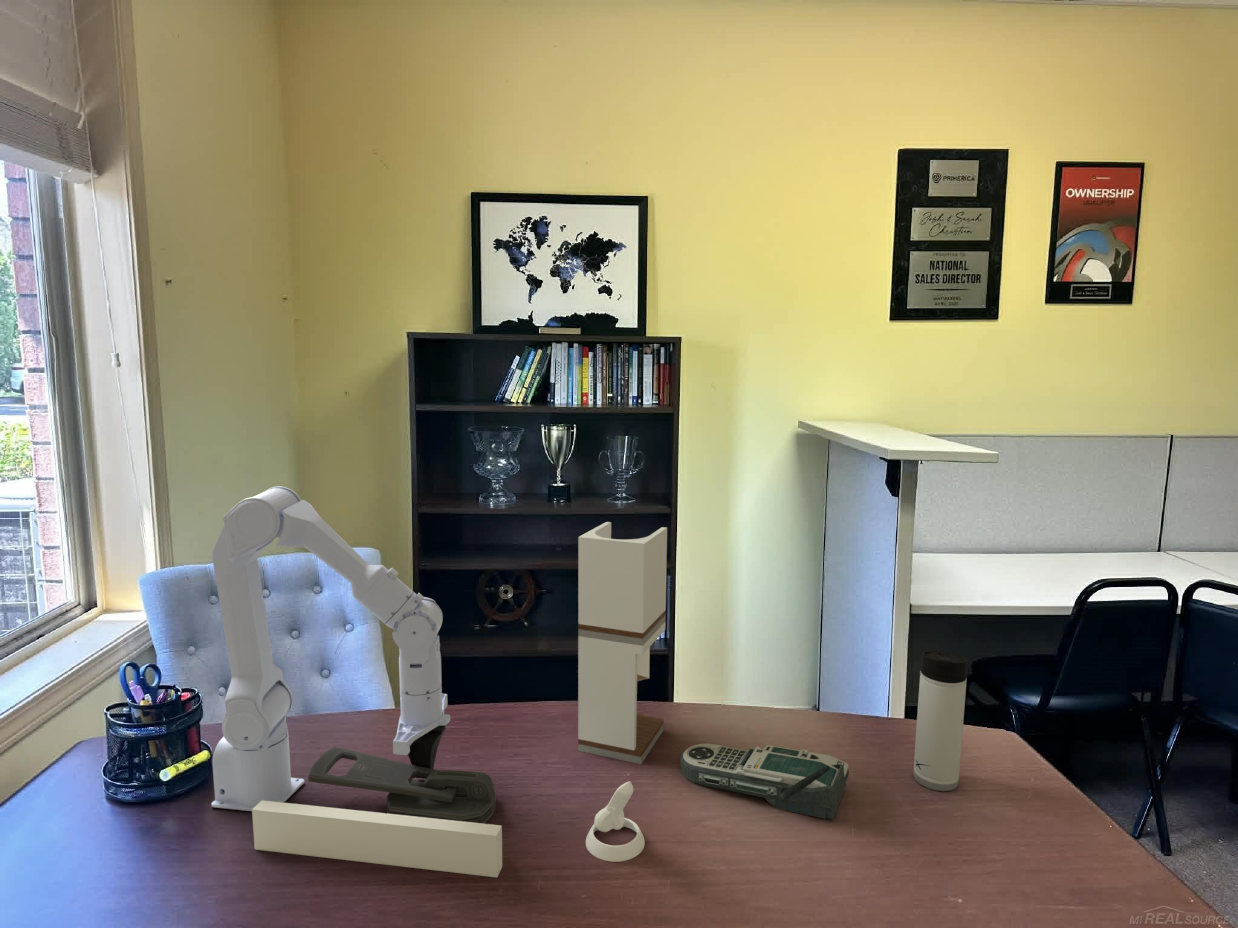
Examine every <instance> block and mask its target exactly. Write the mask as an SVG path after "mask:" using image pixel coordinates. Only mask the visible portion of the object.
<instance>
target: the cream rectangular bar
mask: <svg viewBox="0 0 1238 928" xmlns="http://www.w3.org/2000/svg"><path fill="white" fill-rule="evenodd" d="M251 815H252V816H251V817H252V828H253V829H252V830H253V832H252V833H253V843H254V845H253V846H254V850H256V851H264V852H275V853H281V854H291V855H300V856H309V857H317V858H325V859H326V858H327V859H335V860H343V861H344V860H345V861H351V862H360V863H368V864H378V865H386V866H395V867H401V868H402V867H403V868H413V869H418V870H419V869H420V870H421V869H422V870H428V871H429V870H430V871H437V872H438V871H440V872H447V873H448V872H449V873H455V874H463V875H464V874H465V875H473V876H481V877H489V878H498V877H499V875H500V873H501V870H502V868H503V826H502V825H499V824H493V823H492V824H491V823H490V824H489V823H485V824H482V823H473V822H463V821H454V820H444V819H435V818H425V817H416V816H406V815H397V814H388V813H385V812H376V811H375V812H374V811H367V810H357V809H348V808H347V809H346V808H338V807H328V806H320V805H319V806H318V805H310V804H299V803H291V802H290V803H289V802H284V803H282V802H273V801H263V800H262V801H261V802H259V803H258V804H257V805H256V806H255V807H254V808H253V809H252V811H251Z"/></svg>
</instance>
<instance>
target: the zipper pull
mask: <svg viewBox="0 0 1238 928" xmlns="http://www.w3.org/2000/svg"><path fill="white" fill-rule="evenodd" d="M341 759H344V760H351V761H355V762H354V763H353V764H352V766H351V767H350V768H349V769H348V771H347V772H346V774H344V775H339V776H338V775H333V774H329V771H330V770H331V769H333V767H334V766H335V764H336V763H337V762H339V761H340V760H341ZM418 776H420V777H425V778H427V779H424V778H422V779H415V778H416V777H418ZM307 781H308V782H310V783H317V784H323V785H324V784H325V785H330V786H331V785H332V786H339V787H340V786H341V787H346V788H347V787H348V788H353V789H354V788H355V789H361V790H368V791H369V790H370V791H377V792H383V793H384V792H385V793H388V794H387V796H386V812H387V814H397V815H406V816H416V817H425V818H435V819H444V820H454V821H463V822H473V823H482V824H487V823H488V821H489V820H491V818H492V817H493V815H494V812H495V810H496V808H497V805H496V804H497V802H496V798H497V796H496V791H495V784H494V782H493V780H492V777H491V776H490V775H489V774H487V773H485V772H481V771H467V770H454V769H450V770H449V769H447V770H446V769H434V768H433V769H429V768H424V767H419V766H414V765H411V763H410V764H409V763H404V762H400V761H397V760H391V759H388V758H385V757H380V756H376V755H370V754H367V753H363V752H358V751H354V750H351V749H346V748H341V747H336V746H334V747H332V748H330V749H328V750H327V751H325V752H324V753H323V754H322V755H321V756H320V757H319V758H317V760H316V761H315V762H314V763H313V765H312V767H311V768H310V770H309V773H308V777H307Z"/></svg>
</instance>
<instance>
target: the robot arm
mask: <svg viewBox="0 0 1238 928" xmlns="http://www.w3.org/2000/svg"><path fill="white" fill-rule="evenodd" d="M222 519H223V524H222V525H223V526H222V528H221V529H220V532H219V535H218V537H217V539H216V542H215V544H214V546H213V548H212V552H211V557H212V563H213V571H214V577H215V582H216V589H217V595H218V599H219V600H218V601H219V606H220V613H221V618H222V619H221V620H222V625H223V632H224V636H225V643H226V650H227V654H228V663H229V668H230V673H231V680H230V684H229V686H228V688H227V692H226V694H225V698H224V707H225V714H224V716H223V720H222V723H221V731H222V732H221V733H222V735H223V736H222V738H221V739H220V740H219V741H218V742H217V744H216V747H215V748H214V751H213V755H212V756H213V757H212V773H213V774H212V775H213V787H214V788H213V789H214V800H213V801H212V802H211V803H210V804H211V807H212V808H219V809H227V810H236V811H237V810H238V811H247V812H252V809H253V808H254V807H255V806H256V805H257V804H258V803H259V802H261V801H262V800H263V801H273V802H282V803H286V801H287V800H288V799H289V798H290V797H291V796H293V795H294V794H295V792H296V791H297V790H299V788H300V787H301V786H302V785H304V783H305V779H304V778H297V777H292V775H291V774H292V773H291V772H292V771H291V758H290V757H291V753H290V739H289V738H290V737H289V726H288V724H287V718H286V716H287V714H289V712H291V710H292V708H293V704H294V695H293V692H292V690H291V688H290V687H289V686H288V685H287V683H286V681H285V679H284V675H283V674H284V673H283V670H282V669H281V668H279V667H278V666H276V665H275V664H274V659H273V650H272V645H271V638H270V632H269V626H268V618H267V614H266V606H265V601H264V593H263V587H262V580H261V574H260V573H261V572H260V567H259V561H258V559H259V557H260V555H261V554H262V553H263V552H264V551H265V550H267V548H268V547H269V546H270V545H271V544H272V542H274V540H275V539H276V538H279V539H278V540H277V543H276V545H275V546H276V547H281V548H282V547H285V548H286V547H287V548H305V549H306V550H307V551H309V552H310V553H311V554H313V555H314V556H315V557H317V558H318V559H319V560H320V561H322V562H323V563H324V564H326V565H327V566H328V567H330V568H331V569H332V570H334V571H335V572H336V573H337V574H339V575H340V576H341V577H343V578H344V579H345V580H347V581H348V582H349V583H350V584H351V590H352V597H353V598H354V599H355V600H356V601H358V602H359V603H360V605H362V606H363V607H364V608H365V609H367V610H368V611H369V612H370V613H371V614H372V615H374V616H375V617H376V618H377V619H378V620H380V621H381V622H382V623H383V624H384V625H385V626H386V627H388V628H390V629H392V630H393V631H391V632H392V633H391V634H392V635H391V636H392V639H393V641H394V643H395V645H396V646H397V647H398V648H399V649H398V650H399V652H398V653H399V657H398V673H399V674H398V675H399V699H400V700H399V702H400V704H399V705H400V707H399V708H400V716H399V718H398V724H397V730H396V735H395V737H394V739H393V740H392V752H393V753H392V754H393V755H398V756H400V755H401V756H408V758H409V762H410V765H414V766H419V767H424V768H429V769H434V768H435V762H436V757H437V753H438V748H439V745H440V742H441V738H442V737H443V735H444V733H445V731H446V728H447V727H446V726H447V725H448V724H449V722H450V721H451V715H450V714H445V709H446V708H447V707H448V694H447V693H443V692H442V691H443V689H442V688H443V687H442V683H443V682H442V656H441V655H442V654H441V651H440V650H441V649H440V648H441V643H440V635H439V631H440V629H441V627H442V624H443V617H444V614H443V611H442V609H441V608H440V606H439V605H438V604H437V603H436V600H434V599H432V598H430V597H426V596H424V595H422V594H421V593H420V592H418V593H416V592H414V591H413V590H412V589H411V588H410V587H409V586H407V584H405V583H404V582H403V581H402V580H401V579H400V578H399V577H398V575H399V572H398V571H397V570H396V569H395V568H394V567H391V568H390V569H388V568H387V567H386V566H385V565H383V564H369V563H368V562H367V561H366V560H365V559H364V558H363V557H362V556H361V555H360V554H359V553H358V552H357V551H356V550H355V549H354V548H353V547H352V546H351V545H350V544H349V543H348V542H347V541H346V540H345V539H344V538H343V537H342V536H340V535H339V534H338V532H336V531H335V530H334V528H332V527H331V526H330V525H329V524H328V523H327V522H326V521H325V520H324V519H323V518H322V517H321V515H320V514H319V513H318V512H317V511H316V509H315V508H314V506H313V505H312V504H311V503H310V502H308V501H306V500H305V499H301V497H300V495H299V494H298V493H297V492H295V491H294V490H293V489H292V488H288V487H286V486H282V485H281V486H280V485H279V486H277V485H276V486H272V487H269V488H268V489H266V490H264V491H262V492H261V493H259V494H257V495H254V496H252V497H247V498H244V499H242V500H241V501H239V502H237V503H236V504H235V505H234V506H233V507H232V508H231V509H230V510H229V511H227V512H226V514H224V516H222ZM415 778H416V779H427V778H425V777H420V776H418V777H415Z"/></svg>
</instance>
